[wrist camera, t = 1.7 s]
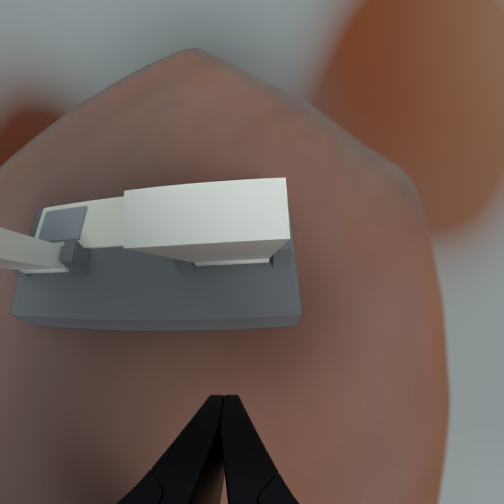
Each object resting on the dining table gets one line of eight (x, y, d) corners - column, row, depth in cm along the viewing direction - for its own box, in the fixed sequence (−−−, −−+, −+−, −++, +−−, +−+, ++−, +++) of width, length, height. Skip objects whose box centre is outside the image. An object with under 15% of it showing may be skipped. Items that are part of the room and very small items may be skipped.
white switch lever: (268, 263, 20) (290, 246, 8) (199, 266, 20) (123, 256, 8) (266, 231, 20) (284, 170, 8) (198, 235, 20) (124, 184, 8)
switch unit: (296, 325, 21) (307, 301, 16) (32, 325, 21) (-8, 304, 16) (283, 206, 25) (287, 161, 21) (53, 225, 25) (24, 193, 21)
